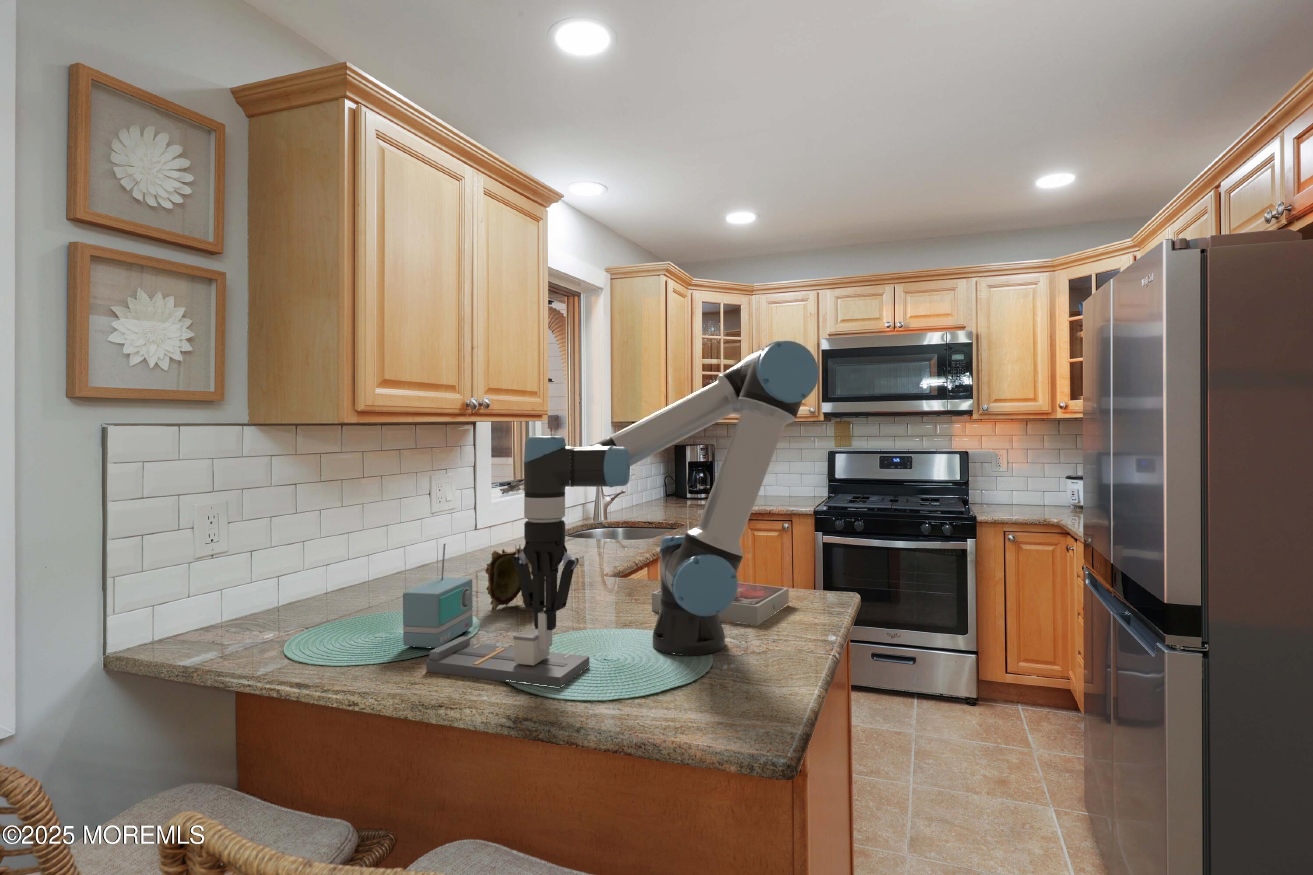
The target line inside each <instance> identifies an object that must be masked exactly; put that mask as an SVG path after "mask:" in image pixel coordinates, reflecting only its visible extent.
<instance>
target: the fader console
mask: <svg viewBox="0 0 1313 875" xmlns="http://www.w3.org/2000/svg"><path fill="white" fill-rule="evenodd" d="M425 662H426V663H425V664H426V665H425V666H426V669H425V670H426V672H427V673H428V672H429V673H435V674H443V675H451V676H460V677H465V678H466V677H467V678H472V679H481V680H482V679H483V680H489V681H497V682H503V683H507V682H506V680H509V681H510V680H511V681H516V682H526V683H531V684H539V685H547V686H555V687H561V686H562V685H564V684H566V683H567V682H569V681H570V680H571V679H573V678H574V677H575V676H577V675H578V674H579V673H580V672H581V671H583V670H584V669H585V668H587V667H588V666H589V667H590V656H589V655H582V654H571V653H563V652H554V651H553V652H552V651H549V656H548V657H546V658H545V659H543V660H541V661H540V662H538V663H537V664H535V665H526V664H517V663H514V647H508V646H507V647H506V646H502V645H501V646H500V645H499V646H498V645H490V644H479V643H472V642H471V637H470V636H460V637H456V638H454V639H452V640H450V641H448V642H446V643H445V644H443V645H442V646H440V647H438V648H436V649H432V650H430V651H429V659H427V660H426V661H425ZM589 667H588V668H589ZM588 668H587V669H588ZM584 671H585V670H584ZM584 671H583V672H584ZM579 675H580V674H579ZM579 675H578V676H579ZM578 676H577V677H578ZM575 678H576V677H575ZM575 678H574V679H575ZM574 679H573V680H574ZM571 681H572V680H571ZM571 681H570V682H571ZM570 682H569V683H570ZM567 684H568V683H567ZM567 684H566V685H567Z"/></svg>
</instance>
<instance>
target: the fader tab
mask: <svg viewBox="0 0 1313 875" xmlns="http://www.w3.org/2000/svg"><path fill="white" fill-rule="evenodd" d="M513 644H514V645H513V648H514V663H517V664H526V665H535V664H537V663H538V662H540V661H541V660H543V659H545V658H546V657H548V656H549V652H550V647H548V648H547V649H538V629H535V627H534V626H531V627H530V626H529V627H528V628H526V629H524V630H522V631H520V632H518V633H516V634H515V635H513Z"/></svg>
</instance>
